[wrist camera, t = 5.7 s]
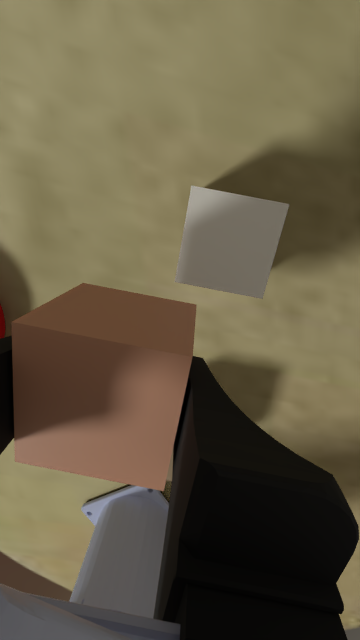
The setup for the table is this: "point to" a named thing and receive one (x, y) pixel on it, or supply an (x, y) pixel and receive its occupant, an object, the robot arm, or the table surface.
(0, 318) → the decorative ornament
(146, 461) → the terracotta cube
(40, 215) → the table surface
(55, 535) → the table surface
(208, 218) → the cream cube
